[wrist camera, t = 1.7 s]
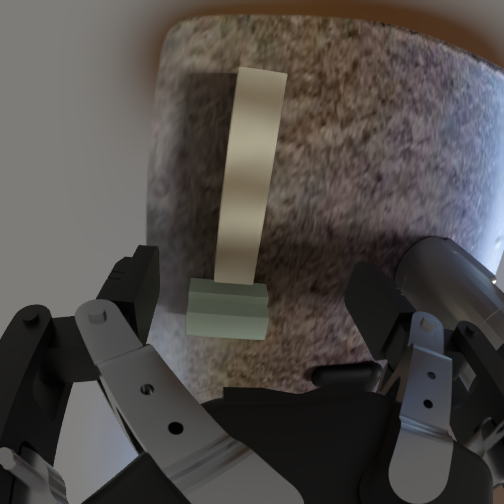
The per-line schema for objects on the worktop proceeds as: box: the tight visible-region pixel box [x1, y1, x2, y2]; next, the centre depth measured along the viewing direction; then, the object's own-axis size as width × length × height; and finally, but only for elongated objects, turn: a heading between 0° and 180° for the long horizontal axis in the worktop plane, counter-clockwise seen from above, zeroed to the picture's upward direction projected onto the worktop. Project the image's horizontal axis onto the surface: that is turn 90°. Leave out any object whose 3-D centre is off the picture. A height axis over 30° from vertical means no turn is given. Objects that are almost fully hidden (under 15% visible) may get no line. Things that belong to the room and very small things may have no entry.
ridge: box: [186, 278, 270, 340], centre depth 30 cm, size 5×8×4 cm, turn 82°
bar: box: [214, 67, 287, 285], centre depth 24 cm, size 18×4×4 cm, turn 172°
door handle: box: [312, 362, 383, 392], centre depth 43 cm, size 3×20×16 cm
